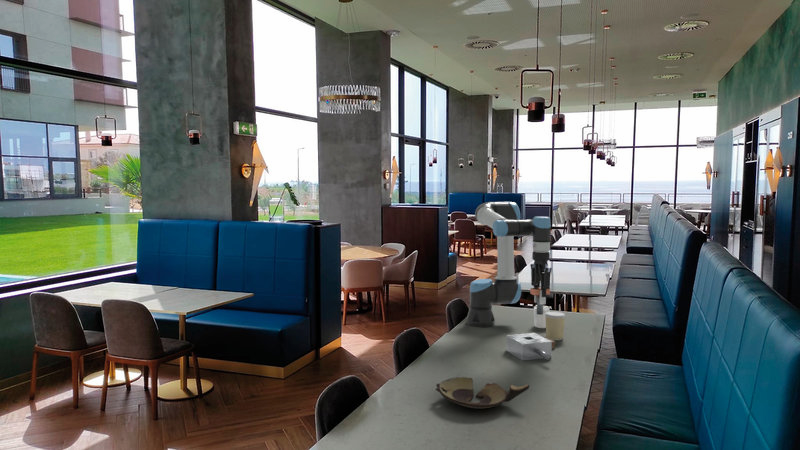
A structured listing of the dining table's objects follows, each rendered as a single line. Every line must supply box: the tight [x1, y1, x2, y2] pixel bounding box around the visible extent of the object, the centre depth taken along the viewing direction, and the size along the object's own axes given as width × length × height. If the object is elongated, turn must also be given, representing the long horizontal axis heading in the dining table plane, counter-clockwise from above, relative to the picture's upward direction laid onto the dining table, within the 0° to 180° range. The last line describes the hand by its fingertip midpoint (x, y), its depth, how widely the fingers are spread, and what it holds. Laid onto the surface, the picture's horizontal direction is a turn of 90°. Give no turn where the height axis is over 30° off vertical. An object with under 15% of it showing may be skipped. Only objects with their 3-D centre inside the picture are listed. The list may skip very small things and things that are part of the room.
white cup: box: [533, 305, 550, 329], centre depth 280 cm, size 8×8×10 cm
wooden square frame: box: [543, 336, 556, 349], centre depth 246 cm, size 8×8×3 cm
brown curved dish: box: [435, 376, 530, 410], centre depth 181 cm, size 22×30×8 cm
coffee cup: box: [545, 311, 566, 341], centre depth 259 cm, size 9×9×12 cm
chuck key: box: [529, 287, 551, 315], centre depth 241 cm, size 3×8×12 cm, turn 109°
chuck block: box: [505, 332, 553, 362], centre depth 231 cm, size 23×14×7 cm, turn 17°
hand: (539, 303), depth 241 cm, fingers closed on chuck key, 3 cm apart
